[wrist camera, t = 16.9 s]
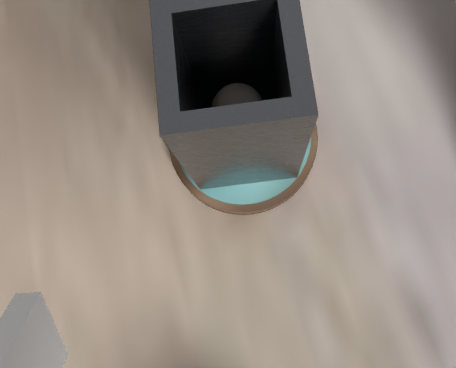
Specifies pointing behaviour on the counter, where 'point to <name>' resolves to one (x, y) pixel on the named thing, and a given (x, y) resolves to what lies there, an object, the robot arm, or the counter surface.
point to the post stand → (253, 192)
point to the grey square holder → (228, 74)
